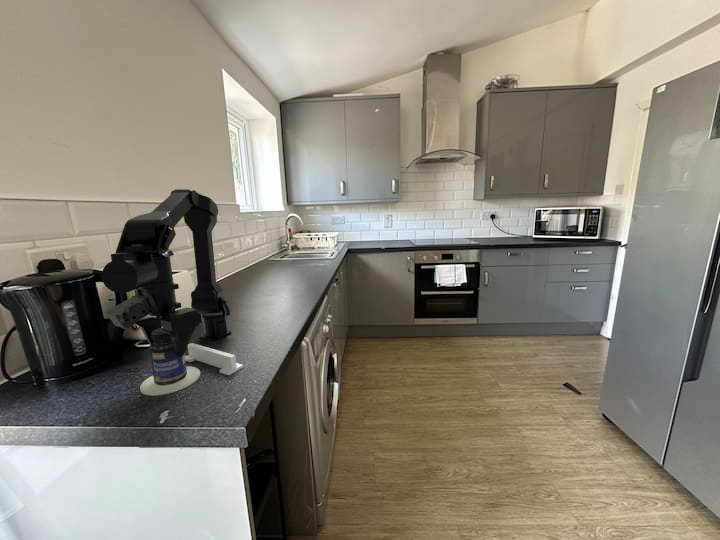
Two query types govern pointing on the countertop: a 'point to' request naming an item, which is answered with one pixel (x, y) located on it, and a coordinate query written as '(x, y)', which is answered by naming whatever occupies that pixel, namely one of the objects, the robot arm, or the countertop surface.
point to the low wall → (213, 358)
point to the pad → (154, 390)
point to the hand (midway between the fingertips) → (167, 352)
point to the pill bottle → (165, 359)
